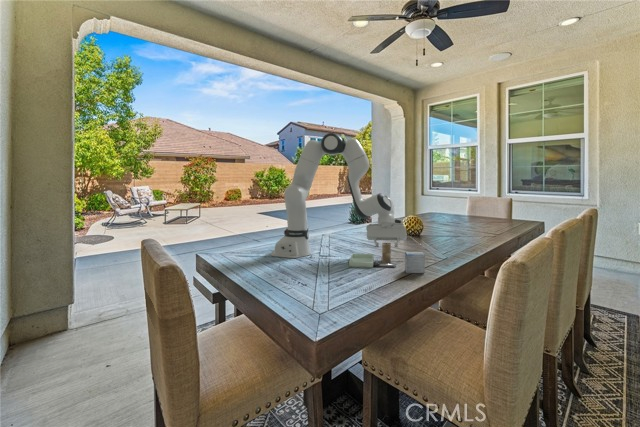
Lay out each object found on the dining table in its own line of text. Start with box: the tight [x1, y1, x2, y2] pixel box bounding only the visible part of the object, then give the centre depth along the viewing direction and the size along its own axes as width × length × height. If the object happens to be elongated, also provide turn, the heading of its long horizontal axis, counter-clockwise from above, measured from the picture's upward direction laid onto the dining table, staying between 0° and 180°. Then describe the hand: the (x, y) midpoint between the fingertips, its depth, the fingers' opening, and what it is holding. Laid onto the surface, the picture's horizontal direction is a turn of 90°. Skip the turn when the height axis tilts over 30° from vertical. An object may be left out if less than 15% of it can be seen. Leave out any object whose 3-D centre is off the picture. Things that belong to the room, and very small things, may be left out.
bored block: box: [381, 242, 392, 264], centre depth 153 cm, size 4×4×9 cm
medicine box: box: [404, 251, 426, 274], centre depth 136 cm, size 8×4×9 cm, turn 84°
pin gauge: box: [373, 261, 397, 268], centre depth 145 cm, size 10×2×2 cm, turn 79°
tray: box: [348, 253, 375, 269], centre depth 151 cm, size 11×15×2 cm
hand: (386, 246), depth 154 cm, fingers open, 8 cm apart
